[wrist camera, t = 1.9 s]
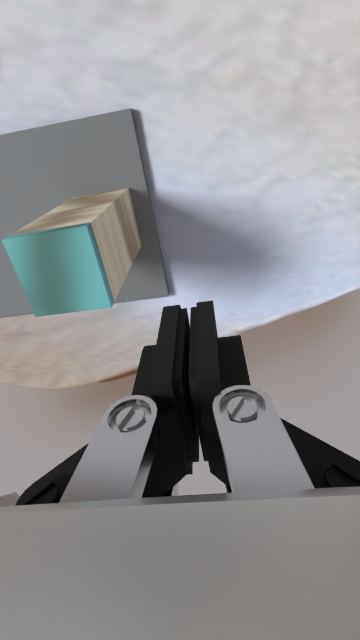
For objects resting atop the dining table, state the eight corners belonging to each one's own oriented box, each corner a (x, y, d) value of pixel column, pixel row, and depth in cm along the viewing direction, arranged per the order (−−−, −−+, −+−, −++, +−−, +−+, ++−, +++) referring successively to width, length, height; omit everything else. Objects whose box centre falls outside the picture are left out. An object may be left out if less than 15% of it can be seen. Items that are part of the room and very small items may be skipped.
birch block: (128, 187, 28) (86, 226, 18) (141, 244, 31) (111, 307, 20) (72, 197, 29) (1, 239, 19) (90, 252, 31) (35, 316, 21)
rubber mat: (131, 108, 26) (130, 108, 25) (169, 293, 34) (168, 296, 33) (-116, 159, 29) (-121, 160, 28) (-28, 318, 37) (-31, 321, 36)
